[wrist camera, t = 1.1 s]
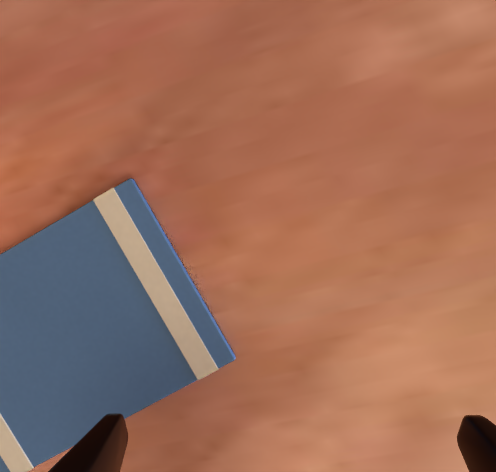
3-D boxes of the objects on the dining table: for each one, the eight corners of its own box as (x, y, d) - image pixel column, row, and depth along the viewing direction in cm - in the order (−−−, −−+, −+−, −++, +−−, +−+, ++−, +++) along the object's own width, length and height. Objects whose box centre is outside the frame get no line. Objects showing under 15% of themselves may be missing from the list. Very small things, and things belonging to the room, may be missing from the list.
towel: (6, 479, 25) (-1, 486, 25) (-97, 313, 25) (-108, 316, 24) (235, 356, 24) (235, 360, 23) (133, 178, 23) (129, 177, 23)
